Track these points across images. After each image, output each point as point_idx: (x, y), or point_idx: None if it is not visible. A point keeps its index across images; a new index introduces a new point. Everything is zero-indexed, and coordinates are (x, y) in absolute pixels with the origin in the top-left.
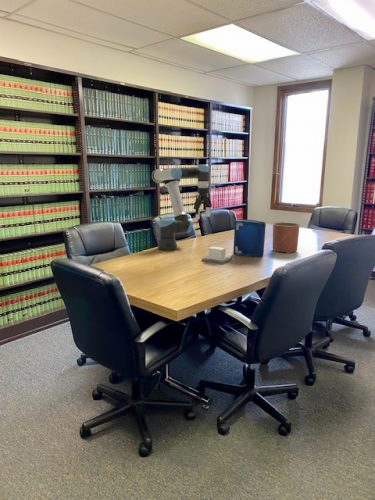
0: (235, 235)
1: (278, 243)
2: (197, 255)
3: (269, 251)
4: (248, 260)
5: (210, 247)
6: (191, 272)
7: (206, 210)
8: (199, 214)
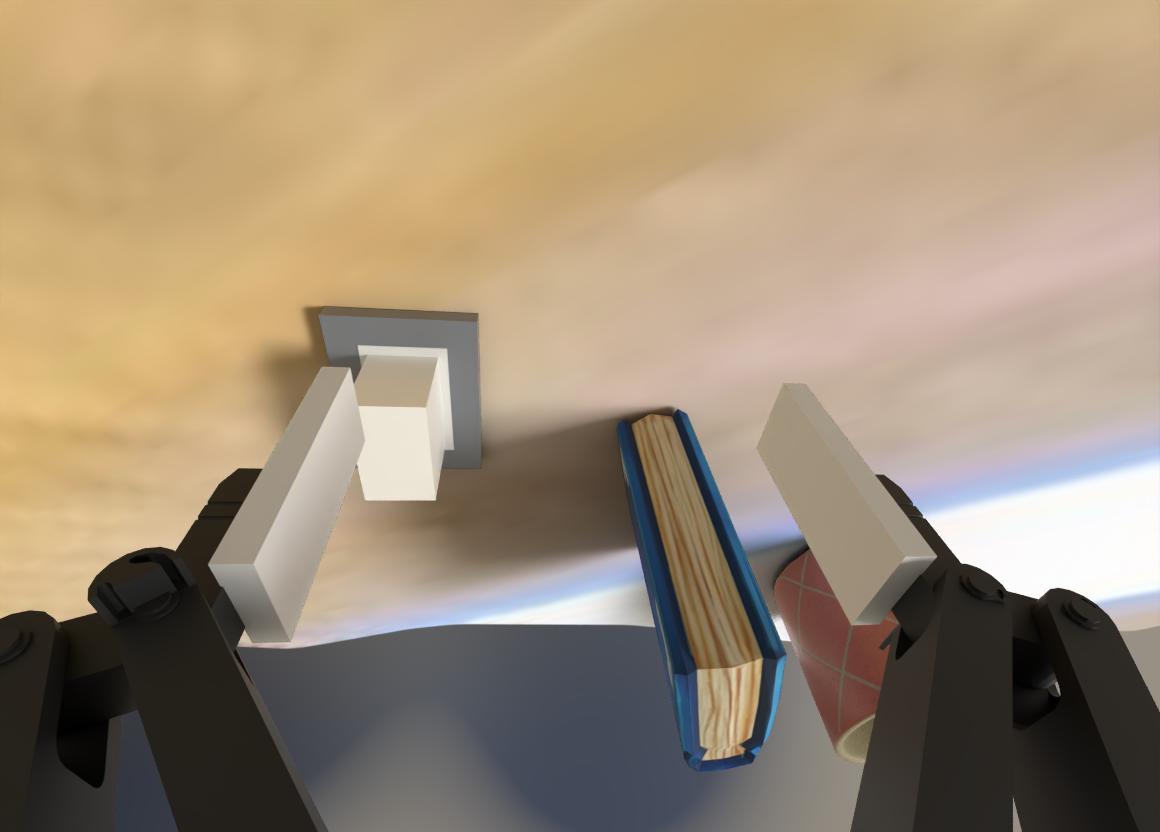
0: (643, 546)
1: (799, 610)
2: (458, 174)
3: (793, 531)
4: (535, 522)
5: (375, 408)
6: (10, 393)
7: (848, 492)
8: (327, 521)
